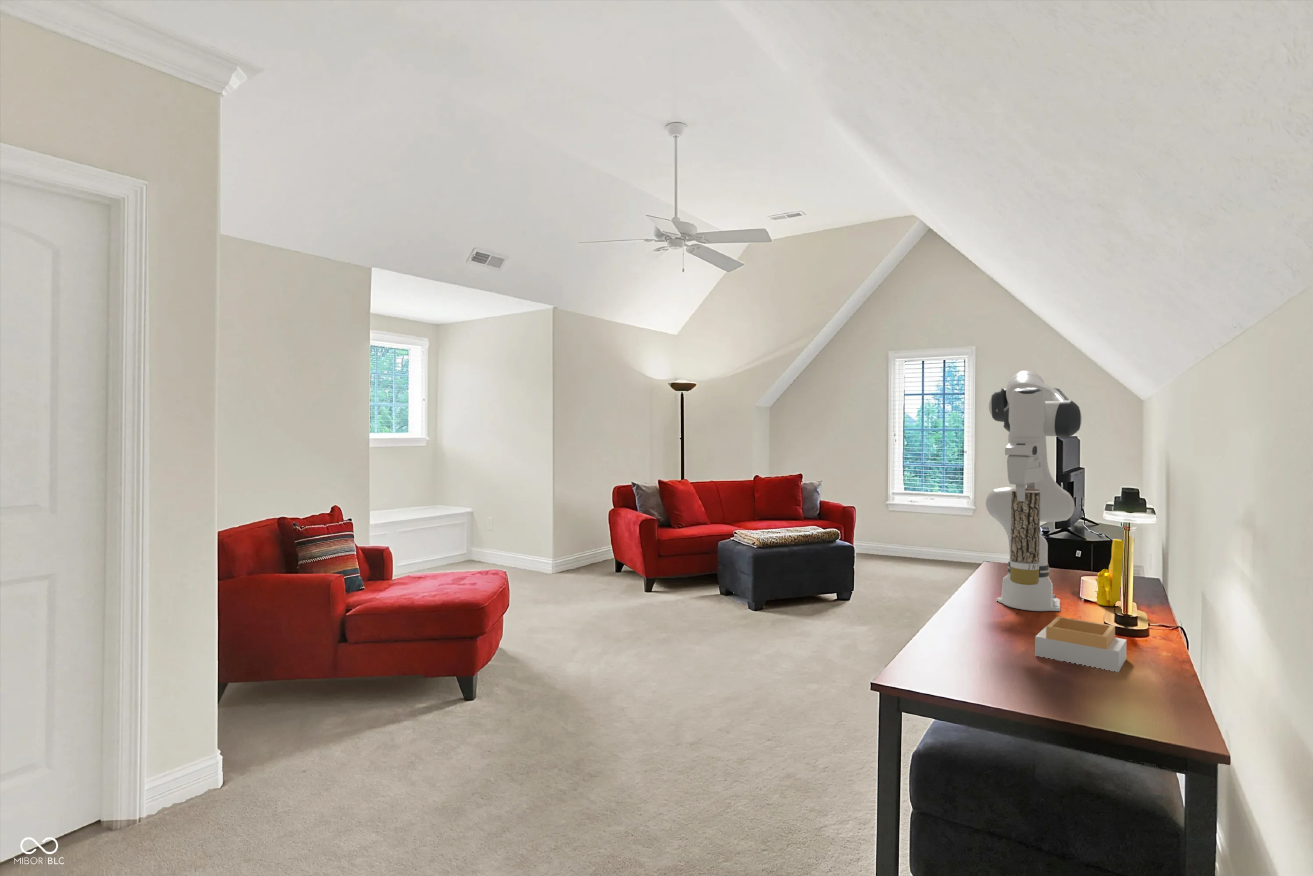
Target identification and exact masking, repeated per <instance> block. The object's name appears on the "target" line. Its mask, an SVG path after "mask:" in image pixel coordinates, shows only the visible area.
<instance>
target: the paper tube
mask: <svg viewBox="0 0 1313 876" xmlns="http://www.w3.org/2000/svg"><path fill="white" fill-rule="evenodd" d="M1025 495H1026V501H1018V500H1017V492H1016V488H1014V489H1012V491H1011V553H1010V552H1009V561H1010V580H1011V581H1012V582H1014V583H1017V584H1023V585H1036V584H1038V582H1039V543H1040V535H1041V534H1040V533H1041V522H1040V490H1038V489H1025ZM1010 559H1011V560H1010Z"/></svg>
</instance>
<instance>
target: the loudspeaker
mask: <svg viewBox="0 0 1313 876" xmlns="http://www.w3.org/2000/svg"><path fill="white" fill-rule="evenodd" d="M1034 637H1035V638H1034V657H1038V656H1039V657H1038V658H1043V657H1045V658H1044V659H1048V658H1050V659H1049V660H1053V659H1055V660H1054V661H1058V662H1063V661H1066V662H1065V663H1069V662H1071V663H1070V664H1074V663H1076V665H1079V664H1082V665H1081V666H1084V665H1086V666H1085V667H1089V666H1091V667H1090V668H1094V667H1096V668H1095V669H1099V668H1101V669H1100V670H1104V669H1105V670H1106V671H1109V670H1110V672H1114V671H1115V672H1114V673H1119V672H1120V670H1121V669H1122V667H1123V665H1124V664H1125V662H1126V661H1127V640H1128V639H1126V638H1125V639H1124V638H1119V637H1116V625H1112V624H1107V623H1106V624H1105V623H1101V622H1094V621H1088V620H1081V619H1075V618H1069V617H1064V616H1063V617H1062V616H1056V617H1055V618H1054V619H1053V620H1052V621H1050V623H1049V624H1047V625H1046V626H1045V627H1043V628H1042V630H1040V632H1038V634H1036V635H1035V636H1034Z"/></svg>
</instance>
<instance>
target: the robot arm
mask: <svg viewBox="0 0 1313 876" xmlns="http://www.w3.org/2000/svg"><path fill="white" fill-rule="evenodd" d="M990 397H991V398H990V400H989V402H988V410H989V414H990V415H991V418H992V419H993V421H996V422H1001V423H1003V428H1004V429H1005V430H1006V431H1007V432H1008V435H1007V437H1008V438H1007V439H1008V441H1007V445H1006V446H1005V448H1004V455H1005V456H1007V458H1006V466H1007V467H1006V468H1007V480H1008V483H1009V484H1010V485H1015V487H1014V486H1013V487H1012V486H1007V487H999V488H992V489H991V491H990V492H989V493H988V494H987V497H986V499H985V507H986V510H987V512H988V513H989V515H990V516H991V517H992V518H993V519H995V520H996V521H997V522H998V523H1000V524H1001V527H1003V529H1004V531H1005V532H1006V535H1007V539H1008V545H1009V547H1008V549H1009V554H1010V553H1011V491H1012V489H1014V488H1016V492H1017V500H1018V501H1026V495H1025V489H1038V490H1040V523H1041V522H1042V523H1054V522H1055V523H1056V522H1062V521H1068V520H1069V519H1070V518H1071V517H1072V515H1073V514H1074V512H1075V501H1074V498H1073V497H1072V495H1071V493H1070V492H1068V491H1067V490H1065V489H1064V488H1062V487H1061V486H1060V485H1059V484H1058V483H1057V482H1056V480H1055V479H1054V478H1053V476H1052V474H1051V471H1050V468H1049V465H1048V464H1049V463H1048V453H1047V451H1048V449H1047V437H1059V438H1071V437H1072V436H1074V435H1075V434H1076V433H1078V432H1079V431H1080V429H1081V426H1082V421H1083V420H1082V411H1081V409H1080V406H1079V405H1078V404H1077V403H1076V402H1075V401H1073V400H1072V399H1069V398H1068V396H1066V395H1065V393H1064V392H1062V390H1061V389H1060V388H1057V387H1052V386H1050V385H1048V384H1047V383H1045V381H1044V379H1043V378H1042V376H1040V375H1039V374H1038V373H1037V372H1035V371H1033V370H1021V371H1017V373H1015V374H1014V375H1013V376H1011V378H1010V379H1009V381H1008V383H1007V385H1006V388H1004V387H1001V389H1000V390H997V391H995V392H994V393H993V394H992V395H991V396H990ZM1048 546H1049V544H1048V542H1047V540H1046V538H1045V537H1044V536H1042V535H1041V534H1040V543H1039V582H1038V584H1036V585H1023V584H1017V583H1014V582H1012V581H1011V580H1010V560H1011V559H1010V558H1009V561H1008V562H1007V574H1006V575H1005V576H1004V577H1003V578H1002V584H1001V585H1002V588H1001V596H999V597H996V599H995V601H996V602H997V601H998V603H1001V604H1003V605H1005V606H1007V607H1009V608H1013V609H1018V610H1019V609H1020V610H1023V611H1032V612H1048V611H1049V612H1061V599H1060V598H1057V597H1056V594H1053V592H1054V591H1053V589H1054V587H1053V586H1054V585H1053V582H1052V580H1051V579H1050V577H1049V576H1050V565H1049V563H1048V556H1049V555H1048V554H1049V553H1048V550H1049V549H1048V548H1049V547H1048Z"/></svg>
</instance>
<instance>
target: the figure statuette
mask: <svg viewBox="0 0 1313 876" xmlns="http://www.w3.org/2000/svg"><path fill="white" fill-rule="evenodd" d="M1123 544H1124V541H1123V540H1122V539H1115V538H1113V539H1112V543H1111V558H1110V562H1109V565H1108V569H1106V568H1104V569H1102V570H1101V571H1099V572H1098V573H1097V577H1096V578H1095V581H1096V584H1097V585H1096V587H1097V586H1098V591H1097V590H1096V594H1097V597H1096V596H1095V599H1096V598H1097V600H1096V604H1097V605H1100V606H1105V607H1113V605H1114V604H1115V603H1116V602H1117V601H1121V598H1120V587H1121V576H1122V577H1123V558H1124V557H1123V556H1124V548H1123Z"/></svg>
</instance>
